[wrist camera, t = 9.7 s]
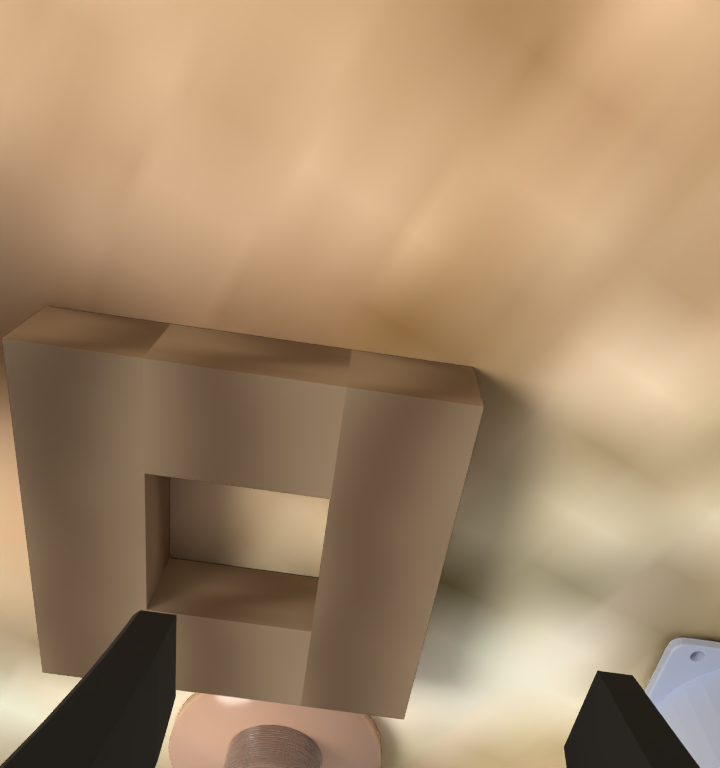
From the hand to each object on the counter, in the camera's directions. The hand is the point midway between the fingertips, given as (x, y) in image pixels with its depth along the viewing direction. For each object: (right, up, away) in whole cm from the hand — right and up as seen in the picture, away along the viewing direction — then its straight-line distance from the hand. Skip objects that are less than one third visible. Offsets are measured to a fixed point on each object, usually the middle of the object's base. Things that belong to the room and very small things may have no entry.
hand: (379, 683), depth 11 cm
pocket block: (-4, +1, +11) cm, 12 cm away
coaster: (-4, -11, +17) cm, 20 cm away
